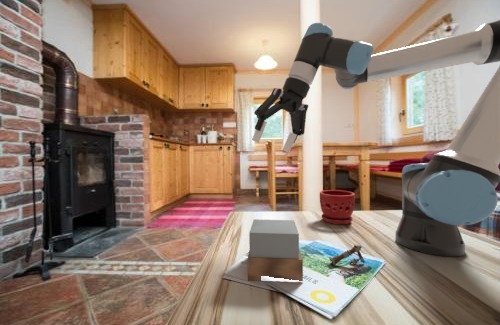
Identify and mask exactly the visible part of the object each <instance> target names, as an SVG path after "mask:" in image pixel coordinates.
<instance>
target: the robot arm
mask: <svg viewBox="0 0 500 325" xmlns="http://www.w3.org/2000/svg"><path fill="white" fill-rule="evenodd" d="M333 35H334V31H333V29H332V27H330V26H329V25H327V24H324V23H322V22H314V23H312V24H309V26H308V27H307V29H306V31H305V33H304V36H303V37H302V39H301V42H300V45H299V48H298V50H297V53H296V55H295V57H294V60H293V63H292V65H291V66H290V70H289V71H288V77H287V78H286V79H285V81H284V84H283V87H282V88H275V87H274V89H272V91H271V94H270V95H269V96H268V97H266V99H265V100H264V101H263V102H262V103H261V104H260V105H259V106H258V107H257V109H255V111H254V115H255V116H256V119H257V122H256V124H255V126H254V130H255V131H254V134H253V135H252V137H251V138H252V141H253V142H255V143H258V144H259V143H260V140H261V138H262V136H263V133H264V131H265V128H266V126H267V124H268V122H267V120H268V119H270V118H271V117H272V116H274V115H275V114H276V113H278V112H280V111H281V110H284V111H285V112H287V113H288V115H289V116H290V122H291V131H290V132H289V134H288V136H287V138H286V141H285V143H284V145H283V148H282V151H284V152H286V153H288V154H290V152H291V150H292V148H293V145H294V144H295V142H296V140H297V138H298V136H299V137H300V136H302V135H304V134H305V131H306V130H305V128H306V120H307V119H306V118H307V112H308V108H309V104H306V103H303V100H304V99H305V98H307V96H308V93H309V91H310V89H311V86H312V84H313V82H314V79H315V77H316V74H317V72H318V70H319V68H320V66H322V67H325V68H329V69H333V70H334V74H335V81H336V82H337V84H338V85H339V87H340V88H341V89H344V90H352V89H354V88H355V87H357V86H358V85H359V84H363V83H367V82H375V81H379V80H385V79H389V78H394V77H395V78H396V77H400V76H406V75H411V74H416V73H423V72H427V71H431V70H438V69H443V68H447V67H453V66H459V65H465V64H470V63H473V64H474V65H476V66H479V65H486V64H490V63H491V64H493V63H497V62H500V19H498V20H495V21H493V22H488V23H483V24H482V25H480V26H479V27H478V28H477V29H476V30H473V31H469V32H465V33H461V34H460V33H459V34H457V35H451V36H448V37H443V38H440V39H439V38H438V39H436V40H431V41H426V42H422V43H418V44H413V45H410V46H406V47H405V46H404V47H401V48H398V49H392V50H388V51H384V52H379V53H376V54H373V53H374V49H375V48H374V45H372V44H371V43H368V42H364V41H361V40H353V39H347V38H341V37H335V36H333ZM495 71H496V72H494V74H493V76H492V78H491V79H490V81H489V82H488V84H487V85H486V87H485V88H484V90H483V92H482V93H481V94H480V96H479V98H478V99H477V101H476V103H475V105H474V106H473V107H472V110H470V112H469V114H468V115H467V117H466V118H465V120H464V122H463V123H462V125H461V127H460V128H459V129H458V131H457V133H456V134H455V136H454V137H453V139H452V140H451V142H450V144H449V145H448V147H447V149H445V150H444V151H440V152H437V153H434V154H433V156H432V157H431V158H430V160H429V161H428V162H426V163H423V162H422V163H421V162H420V163H411V164H407V165H404V166H403V168H402V170H401V182H402V183H401V184H402V185H401V186H402V187H401V190H402V191H401V194H402V196H401V197H402V199H401V203H402V205H401V206H402V209H401V210H402V216H401V218H400V221H399V223H398V226H397V229H396V230H395V241H396V243H398V244H399V245H400V246H403V247H405V248H406V249H407V248H408V249H409V250H413V251H417V252H420V253H425V254H428V255H433V256H438V257H439V256H440V257H462V256H464V255H465V254H466V244H465V241H464V239H463V236H462V234H461V232H460V230H459V227H458V226H469V225H475V224H478V223H480V222H483V220H486V219H488V218H489V217H490V216H491V215H492V214H493V212H495V210H496V208H497V205H498V202H499V201H498V199H499V197H498V194H497V191H496V188H497V186H498V185H499V183H500V169H499V165H500V65H499V67H498V68H497V70H495ZM278 99H279V100H278ZM277 100H278V101H277ZM276 101H277V102H276Z"/></svg>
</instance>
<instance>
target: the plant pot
mask: <svg viewBox="0 0 500 325" xmlns="http://www.w3.org/2000/svg"><path fill="white" fill-rule="evenodd" d="M355 201H356V194H355V192H352V191H347V190H341V189H326V190H325V189H324V190H321V191H320V192H319V203H320V204H319V205H320V209H321V212H322V214H321V218H322V220H323V221H324V222H326V223H329V224H333V225H348V224H350V223H351V222H352V221H353V216H352V215H353V212H354V209H355Z"/></svg>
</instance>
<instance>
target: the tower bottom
mask: <svg viewBox="0 0 500 325" xmlns="http://www.w3.org/2000/svg"><path fill="white" fill-rule="evenodd" d="M303 261H304V260H303V257H302V254H301V251H300V250H299V259H289V258H265V257H250V249H249V251H248V257H247V281H249V282H262V281H261V276H269V277H274V278H284V279H289V280H291V279H292V280H299V281H303V282H304V279H303V278H304V274H303V273H304V272H303V271H304V269H303V268H304V264H303V263H304V262H303Z"/></svg>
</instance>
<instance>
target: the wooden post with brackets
mask: <svg viewBox="0 0 500 325" xmlns="http://www.w3.org/2000/svg"><path fill="white" fill-rule="evenodd" d="M362 248H363V246H362V245H361V244H359V245H358V244H354V245H353V247H352V248H351V249H349V250H348V249H347V250H345V251H344V252H342V253H341V254H339V255H336V256H333V257H331V256H328V259H329V261H330V262H331V261H332V262H333V263H332V264H333V265H334V264H335V265H336V266H337V264H338V263H340V261H342V260H344V259H345V260H346V259H347V258H350V257H351V256H352V255H353V254H354V255H356V256H357V257H358V258H355V257H354V258H353V259H351V260H350V261H349V263H353V264H354V263H356V264H357V263H358V264H359V262H360V261H361V263H362V262H363V263H362V264H365V263H366V261H365V258H364V257H363V256H362V253H361V250H362ZM353 264H352V265H353Z"/></svg>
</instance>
